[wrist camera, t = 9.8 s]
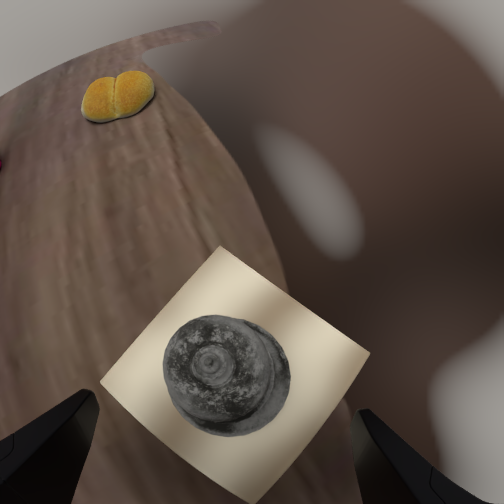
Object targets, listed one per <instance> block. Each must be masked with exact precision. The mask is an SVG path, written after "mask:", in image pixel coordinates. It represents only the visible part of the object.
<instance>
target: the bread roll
mask: <svg viewBox="0 0 504 504" xmlns="http://www.w3.org/2000/svg"><path fill="white" fill-rule="evenodd" d="M153 95H154V84H153V81H152V79H151V78H150V77H149V76H148V75H147V74H146V73H144V72H141V71H128V72H124V73H122V74H120V75H119V76H118V77H117V78H113V77H104V78H100V79H97V80H96V81H94V82H93V83H92V84H91V85H90V86H89V87H88V89H87V91H86V94H85V96H84V98H83V102H82V108H81V111H82V114H83V116H84V117H85V118H86V119H88V120H90V121H94V122H107V121H111V120H114V119H116V118H125V117H128V116H131V115H134V114H136V113H138V112H139V111H140V110H141V109H142V108H143V107H144V106H145V105H146V104H147V103H148V102H149V101H150V100H151V99H152V98H153Z"/></svg>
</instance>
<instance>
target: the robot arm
mask: <svg viewBox="0 0 504 504" xmlns="http://www.w3.org/2000/svg"><path fill="white" fill-rule="evenodd" d="M99 410H100V408H99V404H98V401H97V399H96V396H95V394H94V392H93V391H92V390H88V389H81V390H79V391H78V392H76V393H75V394H73V395H72V396H70V397H69V398H67V399H66V400H64V401H63V402H61V403H60V404H58V405H56V406H55V407H53V408H52V409H50V410H49V411H47V412H46V413H44V414H42V415H41V416H39V417H38V418H36V419H35V420H33V421H32V422H30V423H28V424H27V425H25V426H24V427H22V428H21V429H19V430H17V431H16V432H15V434H14V433H13V434H11V435H9V436H8V437H6V438H4V439H3V440H1V441H0V504H71V502H72V499H73V496H74V493H75V490H76V487H77V484H78V481H79V478H80V475H81V472H82V469H83V466H84V463H85V461H86V458H87V455H88V452H89V449H90V447H91V443H92V439H93V435H94V431H95V427H96V423H97V419H98V415H99ZM350 432H351V441H352V449H353V459H354V466H355V471H356V475H357V479H358V483H359V488H360V492H361V497H362V501H363V504H492V503H488V502H485V501H482V500H481V499H479V498H477V497H475V496H474V495H472V494H471V493H469V492H468V491H466V490H464V489H463V488H461V487H460V486H458V485H457V484H455V483H454V482H452V481H451V480H450V479H448V478H447V477H445V476H444V475H443V474H442V473H441V472H440V471H438V470H437V469H436V468H435V467H434V466H432V465H431V464H430V463H429V462H428V461H427V460H426V459H425V458H423V457H422V456H421V455H420V454H419V453H418V452H416V451H415V450H414V449H413V448H412V447H411V446H410V445H408V444H407V443H406V442H405V441H404V440H403V439H402V438H401V437H400V436H399V435H398V434H396V433H395V432H394V431H393V430H392V429H391V428H390V427H389V426H388V425H386V424H385V423H384V422H383V421H382V420H381V419H380V418H379V417H378V416H376V415H375V414H374V413H373V412H372V411H371V410H370V409H368V408H366V409H358V410H357V411H356V413H355V415H354V417H353V420H352V422H351V425H350Z"/></svg>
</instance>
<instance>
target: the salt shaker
mask: <svg viewBox="0 0 504 504" xmlns="http://www.w3.org/2000/svg"><path fill="white" fill-rule="evenodd" d="M163 375H164V380H165V383H166V385H167V389H168V392H169V395H170V397H171V400H172V403H173V405H174V406H175V408H176V409H177V410H178V412H179V413H180V414H181V416H182V417H183V418H184V419H185V420H186V421H188V422H189V423H190V424H191V425H193V426H194V427H195V428H197V429H199V430H202V431H204V432H206V433H209V434H211V435H217V436H223V437H235V436H244V435H247V434H250V433H252V432H255V431H257V430H260V429H261V428H263V427H264V426H265V425H267V424H268V423H270V422H271V421H272V420H273V419H274V418H275V417H276V416H277V414H278V413H279V412H280V410H281V409H282V408H283V406H284V404H285V401H286V399H287V396H288V394H289V389H290V381H291V374H290V368H289V362H288V359H287V357H286V355H285V353H284V350H283V348H282V346H281V345H280V344H279V343H278V342H277V340H276V339H275V338H274V337H273V336H272V334H270V333H269V332H267V331H266V330H265V329H263V328H262V327H261V326H259V325H257V324H254V323H252V322H249V321H247V320H244V319H237V318H232V317H228V316H222V315H206V316H201V317H198V318H195V319H193V320H190V321H188V322H187V323H186V324H184V325H183V326H181V327H180V328H179V329H178V330H177V331H176V332H175V334H174V335H173V336H172V337H171V338H170V340H169V343H168V345H167V347H166V349H165V352H164V358H163Z"/></svg>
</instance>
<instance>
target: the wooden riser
mask: <svg viewBox="0 0 504 504" xmlns="http://www.w3.org/2000/svg"><path fill="white" fill-rule="evenodd" d="M206 315H222V316H228V317H232V318H237V319H244V320H247V321H249V322H252V323H254V324H257V325H259V326H261V327H262V328H263V329H265V330H266V331H267V332H269V333H270V334H272V336H273V337H274V338H275V339H276V340H277V342H278V343H279V344H280V345H281V346H282V348H283V350H284V353H285V355H286V357H287V359H288V362H289V368H290V374H291V381H290V389H289V394H288V396H287V399H286V401H285V404H284V406H283V408H282V409H281V410H280V412H279V413H278V414H277V416H276V417H275V418H274V419H273V420H272V421H271V422H270V423H268V424H267V425H265V426H264V427H263V428H261V429H260V430H257V431H255V432H252V433H250V434H247V435H244V436H235V437H223V436H217V435H211V434H209V433H206V432H204V431H202V430H199V429H197V428H195V427H194V426H193V425H191V424H190V423H189V422H188V421H186V420H185V419H184V418H183V417H182V416H181V414H180V413H179V412H178V410H177V409H176V408H175V406H174V405H173V403H172V400H171V397H170V395H169V392H168V389H167V385H166V383H165V380H164V375H163V358H164V352H165V349H166V347H167V345H168V343H169V340H170V338H171V337H172V336H173V335H174V334H175V332H176V331H177V330H178V329H179V328H180V327H181V326H183V325H184V324H186V323H187V322H188V321H190V320H193V319H195V318H198V317H201V316H206ZM369 355H370V353H369V352H368V351H366V350H365V349H364V348H362V347H361V346H359V345H358V344H357V343H355V342H354V341H352V340H351V339H349V338H348V337H347V336H345V335H343V334H342V333H341V332H339V331H338V330H337V329H335V328H334V327H332V326H331V325H330V324H328V323H327V322H325V321H324V320H322V319H321V318H320V317H318V316H317V315H315V314H314V313H313V312H311V311H310V310H308V309H307V308H306V307H304V306H303V305H301V304H300V303H298V302H297V301H296V300H294V299H293V298H292V297H290V296H289V295H287V294H286V293H285V292H283V291H282V290H280V289H279V288H278V287H276V286H275V285H274V284H272V283H271V282H269V281H268V280H267V279H265V278H264V277H262V276H261V275H260V274H258V273H257V272H255V271H254V270H253V269H251V268H250V267H249V266H247V265H246V264H244V263H243V262H242V261H240V260H239V259H238V258H236V257H235V256H233V255H232V254H231V253H229V252H228V251H227V250H225V249H224V248H222V247H221V246H219V247H218V248H217V249H216V250H215V252H214V253H213V254H212V255H211V256H210V257H209V258H208V259H207V260H206V261H205V263H204V264H203V265H202V266H201V267H200V268H199V269H198V270H197V271H196V272H195V274H194V275H193V276H192V277H191V278H190V279H189V280H188V281H187V282H186V284H185V285H184V286H183V287H182V288H181V289H180V290H179V291H178V292H177V294H176V295H175V296H174V297H173V298H172V299H171V300H170V301H169V303H168V304H167V305H166V306H165V307H164V308H163V309H162V310H161V312H160V313H159V314H158V315H157V316H156V317H155V318H154V320H153V321H152V322H151V323H150V324H149V325H148V326H147V328H146V329H145V330H144V331H143V332H142V333H141V334H140V336H139V337H138V338H137V339H136V340H135V341H134V342H133V344H132V345H131V346H130V347H129V348H128V349H127V351H126V352H125V353H124V354H123V355H122V356H121V358H120V359H119V360H118V361H117V362H116V363H115V365H114V366H113V367H112V368H111V369H110V370H109V372H108V373H107V374H106V375H105V376H104V378H103V379H102V380H101V381H100V383H101V384H102V385H103V386H104V387H105V388H106V389H107V390H108V391H109V392H110V394H111V395H112V396H113V397H114V398H115V399H116V400H117V401H118V402H119V403H120V404H121V405H122V406H123V407H124V408H125V409H126V410H127V411H128V412H130V413H131V414H132V415H133V416H134V417H135V418H136V419H137V420H138V421H139V422H140V423H141V424H142V425H143V426H145V427H146V428H147V429H148V430H149V431H150V432H151V433H152V434H154V435H155V436H156V437H157V438H158V439H159V440H161V441H162V442H163V443H164V444H165V445H167V446H168V447H169V448H170V449H171V450H173V451H174V452H175V453H176V454H178V455H179V456H180V457H182V458H183V459H184V460H185V461H187V462H188V463H189V464H191V465H192V466H193V467H195V468H196V469H198V470H199V471H200V472H202V473H203V474H204V475H206V476H207V477H209V478H210V479H212V480H213V481H215V482H216V483H218V484H219V485H221V486H222V487H224V488H225V489H227V490H228V491H230V492H231V493H233V494H235V495H236V496H238V497H239V498H241V499H243V500H244V501H246V502H248V503H249V504H255V503H256V502H257V501H258V500H259V499H260V498H261V497H262V496H263V495H264V494H265V493H266V492H267V491H268V490H269V489H270V488H271V487H272V486H273V484H274V483H275V482H276V481H277V480H278V479H279V478H280V477H281V476H282V474H283V473H284V472H285V471H286V470H287V469H288V468H289V466H290V465H291V464H292V463H293V462H294V460H295V459H296V458H297V457H298V456H299V454H300V453H301V452H302V451H303V450H304V448H305V447H306V446H307V445H308V443H309V442H310V441H311V440H312V438H313V437H314V436H315V434H316V433H317V432H318V430H319V429H320V428H321V426H322V425H323V424H324V422H325V421H326V420H327V418H328V417H329V416H330V414H331V413H332V411H333V410H334V409H335V407H336V406H337V404H338V403H339V401H340V400H341V398H342V397H343V396H344V394H345V392H346V391H347V390H348V388H349V386H350V385H351V384H352V382H353V380H354V379H355V377H356V376H357V374H358V373H359V371H360V369H361V367H362V366H363V365H364V363H365V361H366V360H367V358H368V356H369Z"/></svg>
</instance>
